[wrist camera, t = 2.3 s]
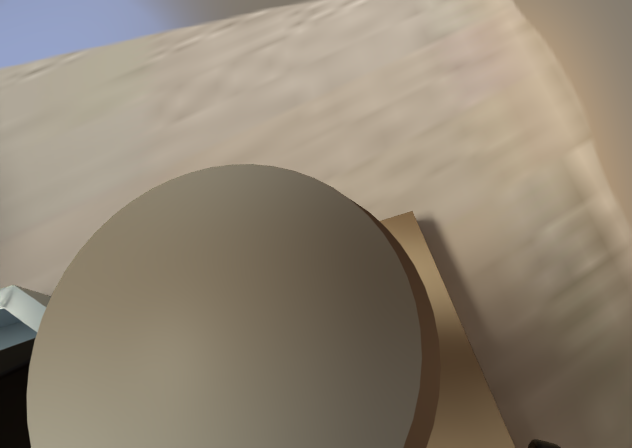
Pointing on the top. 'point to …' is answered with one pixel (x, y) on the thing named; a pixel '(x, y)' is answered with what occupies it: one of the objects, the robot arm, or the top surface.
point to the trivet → (452, 359)
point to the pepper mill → (237, 324)
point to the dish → (20, 314)
